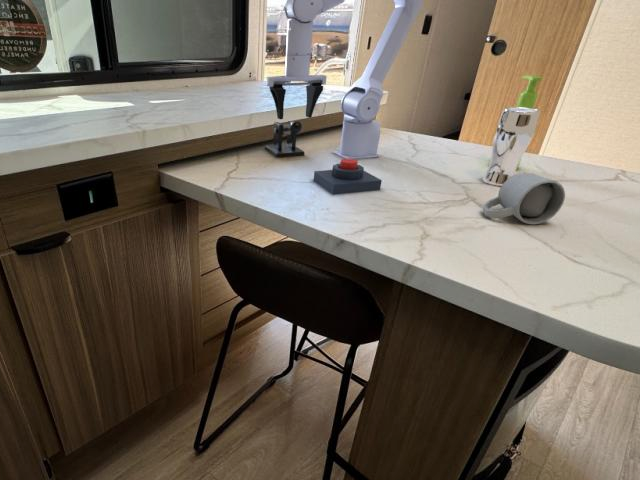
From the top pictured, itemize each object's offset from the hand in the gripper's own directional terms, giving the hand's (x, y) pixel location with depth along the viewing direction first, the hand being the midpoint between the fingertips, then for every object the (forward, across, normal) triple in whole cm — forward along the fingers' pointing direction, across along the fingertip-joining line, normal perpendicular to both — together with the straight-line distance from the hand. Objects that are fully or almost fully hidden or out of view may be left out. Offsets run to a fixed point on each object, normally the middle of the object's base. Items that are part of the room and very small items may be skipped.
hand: (294, 117), depth 104 cm
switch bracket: (+10, -1, -8) cm, 13 cm away
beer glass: (+11, -38, +30) cm, 50 cm away
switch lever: (+5, -1, -3) cm, 6 cm away
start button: (+7, -4, +23) cm, 25 cm away
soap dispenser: (+11, -49, +20) cm, 54 cm away
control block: (+10, -4, +23) cm, 26 cm away
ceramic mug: (+11, -24, +48) cm, 55 cm away
